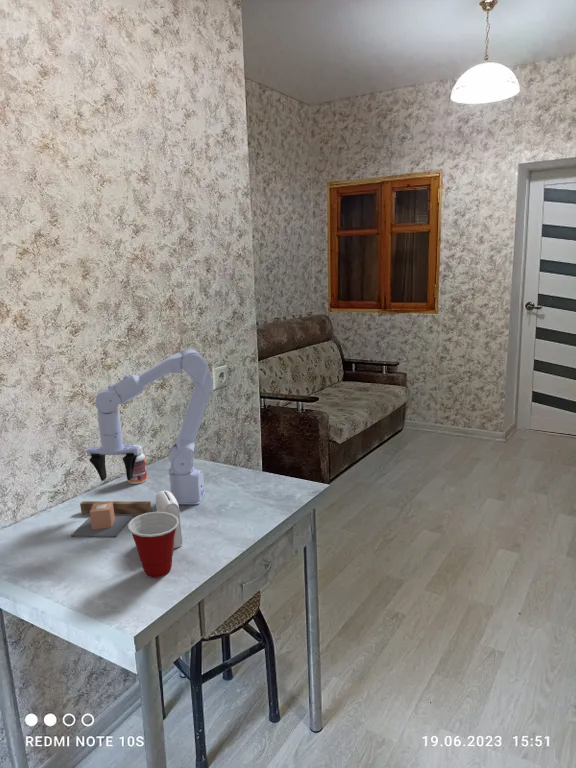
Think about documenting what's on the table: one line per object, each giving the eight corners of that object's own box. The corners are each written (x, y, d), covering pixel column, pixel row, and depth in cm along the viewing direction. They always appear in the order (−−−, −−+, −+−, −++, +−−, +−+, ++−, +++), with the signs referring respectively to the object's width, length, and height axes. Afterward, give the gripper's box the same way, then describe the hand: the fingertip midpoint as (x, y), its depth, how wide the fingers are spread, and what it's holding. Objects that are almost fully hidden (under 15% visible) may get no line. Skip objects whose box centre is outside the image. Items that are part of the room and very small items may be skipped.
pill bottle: (151, 480, 174) (147, 447, 171) (133, 486, 170) (129, 452, 167) (141, 475, 178) (137, 443, 176) (124, 481, 174) (120, 448, 172)
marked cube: (114, 518, 146) (112, 501, 145) (111, 527, 141) (109, 509, 140) (95, 520, 146) (93, 503, 145) (91, 529, 141) (89, 511, 140)
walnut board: (151, 511, 151) (150, 501, 150) (149, 513, 149) (148, 503, 149) (84, 511, 153) (82, 501, 153) (81, 513, 152) (80, 503, 151)
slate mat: (133, 515, 149) (133, 514, 148) (115, 537, 137) (115, 535, 137) (92, 515, 150) (92, 514, 150) (70, 536, 138) (70, 535, 138)
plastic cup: (169, 587, 114) (163, 535, 111) (124, 581, 117) (117, 530, 114) (191, 560, 124) (187, 512, 121) (149, 555, 127) (144, 508, 124)
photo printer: (157, 533, 138) (152, 488, 135) (174, 529, 139) (169, 484, 137) (167, 551, 129) (162, 503, 126) (184, 546, 130) (180, 499, 128)
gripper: (141, 427, 151) (146, 473, 154) (92, 429, 153) (98, 474, 155) (132, 435, 144) (137, 482, 147) (80, 436, 146) (87, 483, 149)
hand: (116, 479), depth 151 cm, fingers open, 7 cm apart
